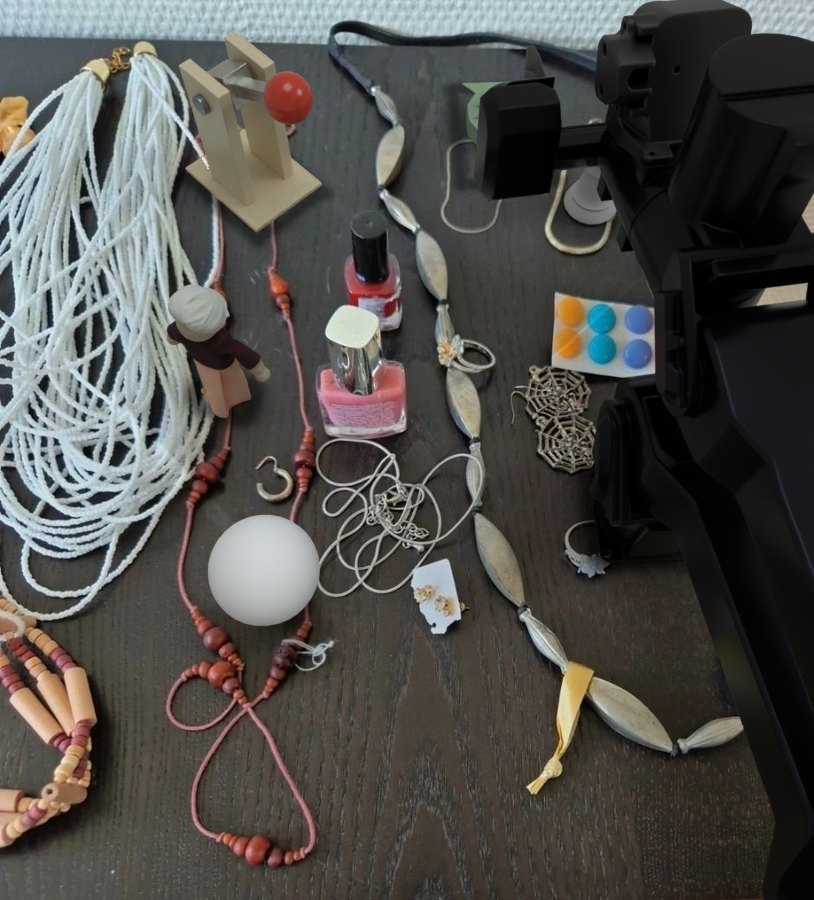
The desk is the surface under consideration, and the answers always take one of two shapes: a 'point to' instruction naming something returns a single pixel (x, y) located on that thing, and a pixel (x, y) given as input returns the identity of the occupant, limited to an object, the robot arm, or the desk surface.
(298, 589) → the lightbulb
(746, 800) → the desk surface
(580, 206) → the rook chess piece
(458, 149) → the desk surface
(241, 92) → the switch lever
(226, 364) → the grandmother figurine
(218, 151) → the switch bracket
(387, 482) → the desk surface
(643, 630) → the desk surface
